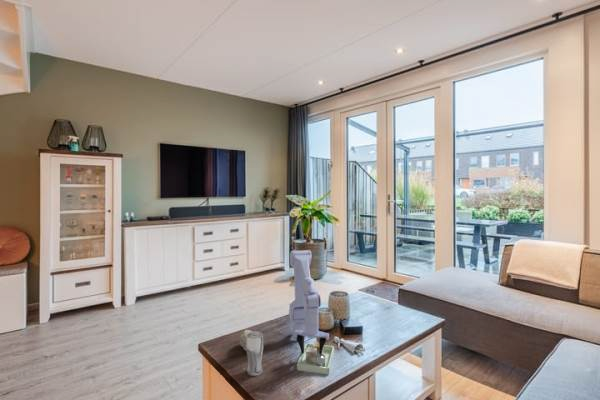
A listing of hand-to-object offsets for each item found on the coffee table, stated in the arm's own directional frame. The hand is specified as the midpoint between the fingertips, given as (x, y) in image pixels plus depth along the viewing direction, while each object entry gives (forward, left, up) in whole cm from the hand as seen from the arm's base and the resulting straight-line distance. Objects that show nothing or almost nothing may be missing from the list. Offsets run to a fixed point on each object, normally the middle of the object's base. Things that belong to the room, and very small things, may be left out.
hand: (311, 353), depth 133 cm
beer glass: (+12, -21, -4) cm, 24 cm away
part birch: (0, 0, -3) cm, 3 cm away
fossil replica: (-5, -30, -4) cm, 31 cm away
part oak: (-5, +2, -3) cm, 6 cm away
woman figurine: (-16, +14, -4) cm, 22 cm away
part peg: (+4, +4, -3) cm, 7 cm away
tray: (-1, +2, -4) cm, 4 cm away
